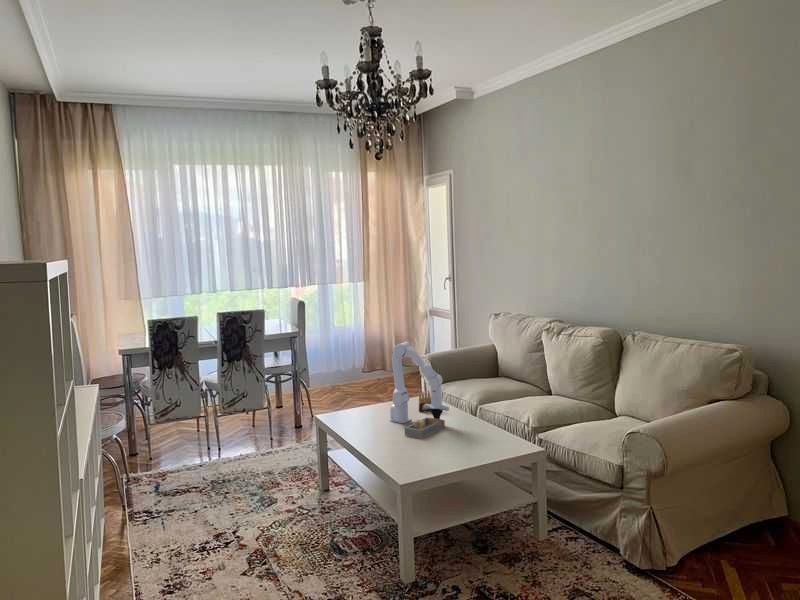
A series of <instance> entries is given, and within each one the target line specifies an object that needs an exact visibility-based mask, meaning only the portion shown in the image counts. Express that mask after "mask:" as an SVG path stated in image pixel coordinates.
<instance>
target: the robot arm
mask: <svg viewBox="0 0 800 600" xmlns="http://www.w3.org/2000/svg"><path fill="white" fill-rule="evenodd" d="M404 357H405V358H411V359H412V360H413V362H414V363H415V365H417V366H418V367H419V368H420V372H421V374H423V376H424V377H425V378H426V380H427V381H428V385H429V386H430V397H431V404H424V408H431V410H430V411H429V412H430V413H431V415H432V418H436V419H441V415H442V413H443V411H444V412H449V411H450V406H447V405H443V401H442V400H443V399H442V398H443V397H442V394H443V393H442V392H443V391H442V384H443V381H444V380H443V377H442V375H441V374H438V373H437V372H436V371H435V370H434V369H433V366H432V365H431V364H428V363H425V361H424V360H423V359H422V358H421V356H420V354H419V353H418V352H417V350H416V349H415V346H413V345H412V343H411V342H409V341H406V340H405V341H404V342H402V343H398V344H396V345H395V346H394V347H393V350H392V354H391V366H392V375H393V383H394V390H393V393H392V394H393V395H392V403H393V404H392V405H391V406H390V414H389V415H390V419H389V422H394V423H400V424H405V423H408V422H409V421H412V418H409V405H408V403H409V401H410V397H411V396H410V394H409V393H408V389H407V387H406V386H405V378H404V371H403V369H404V368H403V364H402V363H403V361H402V360H403V358H404Z"/></svg>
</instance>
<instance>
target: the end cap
mask: <svg viewBox="0 0 800 600" xmlns="http://www.w3.org/2000/svg"><path fill="white" fill-rule="evenodd" d="M424 418H428V424H431V425H432V424H434V423H436V422H438V421H440V420H443V428H445V427H446V419H442V418H440V419H436V418H434V417H429V416H426V417H424Z"/></svg>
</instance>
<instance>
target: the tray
mask: <svg viewBox="0 0 800 600" xmlns="http://www.w3.org/2000/svg"><path fill="white" fill-rule="evenodd" d="M421 420H424V421H425V428H424V429H422V430H419V429H414V423H411V424H409V425H408V426H406V427H404V436H406V437H411V436H412V438H416V437H417V438H418V439H424V438H426V437H428V436H430V435H431V433H432V434H433V433H435V432H437V431H439V430H441V429H443V428H444V427H443V420H444V419H442V420H440V421H438V422H436V423H434V424H432V425H431V424H428V418H425V417H424V418H422V419H421Z"/></svg>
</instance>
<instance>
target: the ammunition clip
mask: <svg viewBox="0 0 800 600" xmlns="http://www.w3.org/2000/svg"><path fill="white" fill-rule="evenodd" d="M424 404H431V391H430V390H428V392H427V390H425V391H422V392H421V391H419V394H418V412H419V413H424V411H426V412H431V411H430V410H431V408H424Z"/></svg>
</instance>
